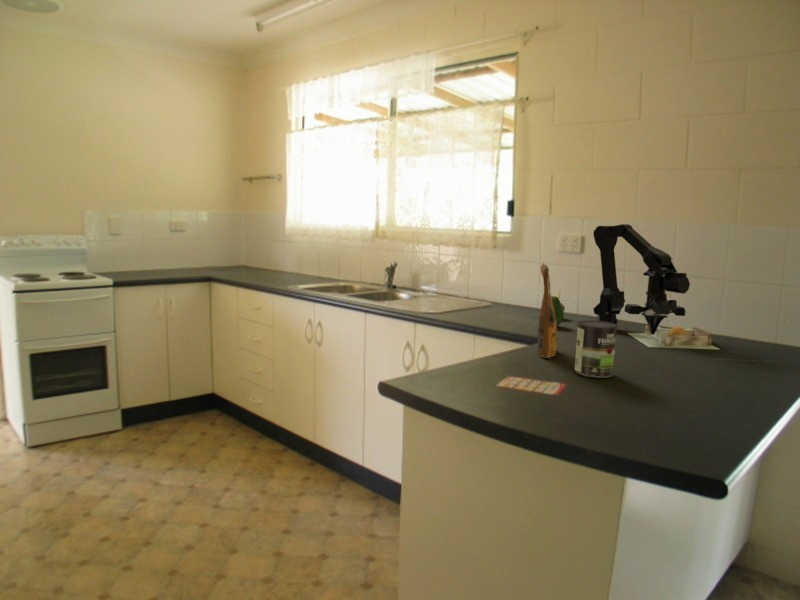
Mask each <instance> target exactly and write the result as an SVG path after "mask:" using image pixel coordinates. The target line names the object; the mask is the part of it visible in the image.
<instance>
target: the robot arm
mask: <svg viewBox="0 0 800 600" xmlns="http://www.w3.org/2000/svg"><path fill="white" fill-rule="evenodd" d="M618 238H623V239H624V240H625V242H626V243H628V245H630V247H632V248H633V249H634V250H636V252H637V253H638V254H639V255H640V256H641V257H642V261H643V263H644V265H646V267H647V268H648V269H647V270H646V271H645V272H644V273H643V274H642V275H643V276H645V277H648V281H647V290H646V291H645V295H646V301H645V303H644V306H641V305H639V304H637V303H626V298H625V292H624V290H620V288H619V287H618V278H617V268H616V257H615V248H616V246H617V243H618ZM593 239H594V242H595V245H596V246H597V248H598V249H599V254H600V263H601V264H600V265H601V274H602V287H603V289H602V291H601V293H600V295H599V303H598V304H596V305H595V307H594V308H593V313H594V315H596V321H603V322H610V323H613V324H616V325H617V326H618V318H617V315H620V314H621V311H622V309H623V308H624V312H625V313H627V314H629V315H640V314H641V316H643V317H644V318H645V321H646V323H647V326H649V330H650V333H651V334H653V335H654V334H655V332H656V330H657V328H658V327H660V324H661V322H662V321H663V320H665V319H667V318H668V316H669V315H670V314H674V315H675V316H676V317H677V316H679V317H685V316H686V309H685V307H683V306H681V305H677V304H678V301H677V299H668V297H667V293H666V292H669V293H675V294H683V295H684V294H686V293H687V292H688V291H689V290H690V286H691V283H690V280H689V278H688V276H687V272H678V270H677V269H676V267H675V265H674V263H673V261H672V257H671V255H670V254H668V253H667V252H665V251H663V250H662V249H660V248H657V247H655V246H653V245H652V244H651V243H650V242H648V241H647V240H646V238H644V236H642V235H641V234H640V233H639V232H638V231H637V230H635V229H634V228H633V226H632V225H631V224H627V223H621V224H618V225H598V226H597V227H595V229H593ZM625 303H626V304H625Z"/></svg>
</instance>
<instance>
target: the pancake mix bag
mask: <svg viewBox="0 0 800 600" xmlns="http://www.w3.org/2000/svg"><path fill="white" fill-rule="evenodd" d="M549 270H550V269H549V267H548V265H547V264H545V262H543V263H542V264H541V265H540V273H541V276H542V278H543V296H542V301H541V306H540V312H539V317H538V326H537V327H538V328H537V351H538V356H539V355H542V356H544V357H549V356H556V353H557V348H558V347H557V346H558V328H557V327H558V326H556V319H555V313H554V308H553V303H552V298H551V296H552V295H551V294H552V293H551V279H550V273H549Z"/></svg>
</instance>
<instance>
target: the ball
mask: <svg viewBox="0 0 800 600" xmlns="http://www.w3.org/2000/svg"><path fill="white" fill-rule="evenodd" d="M670 329H671V330H670V336H673V335H684V336H685V335H686V333H685V330H684V328H683V327H681V326H674V327H672V328H670Z"/></svg>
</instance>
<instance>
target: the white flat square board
mask: <svg viewBox="0 0 800 600" xmlns="http://www.w3.org/2000/svg"><path fill="white" fill-rule="evenodd" d="M627 335H629V336H631V337H632V338H634V339H635V340H637V341H639V342H640V343H642V344H644V345H645V346H646V347H648V348H664V349H665V348H667V349H669V348H670V349H696V350H698V349H699V350H720V348H718V347H717V346H714V345H712V344H711V346H700V345H673V346H670V347H665V342H660V341H658V340H656V339H654V338H653V337H651V336H650V335H645V334H644V333H643V332H642V333H640V332H638V333H637V332H627Z"/></svg>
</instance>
